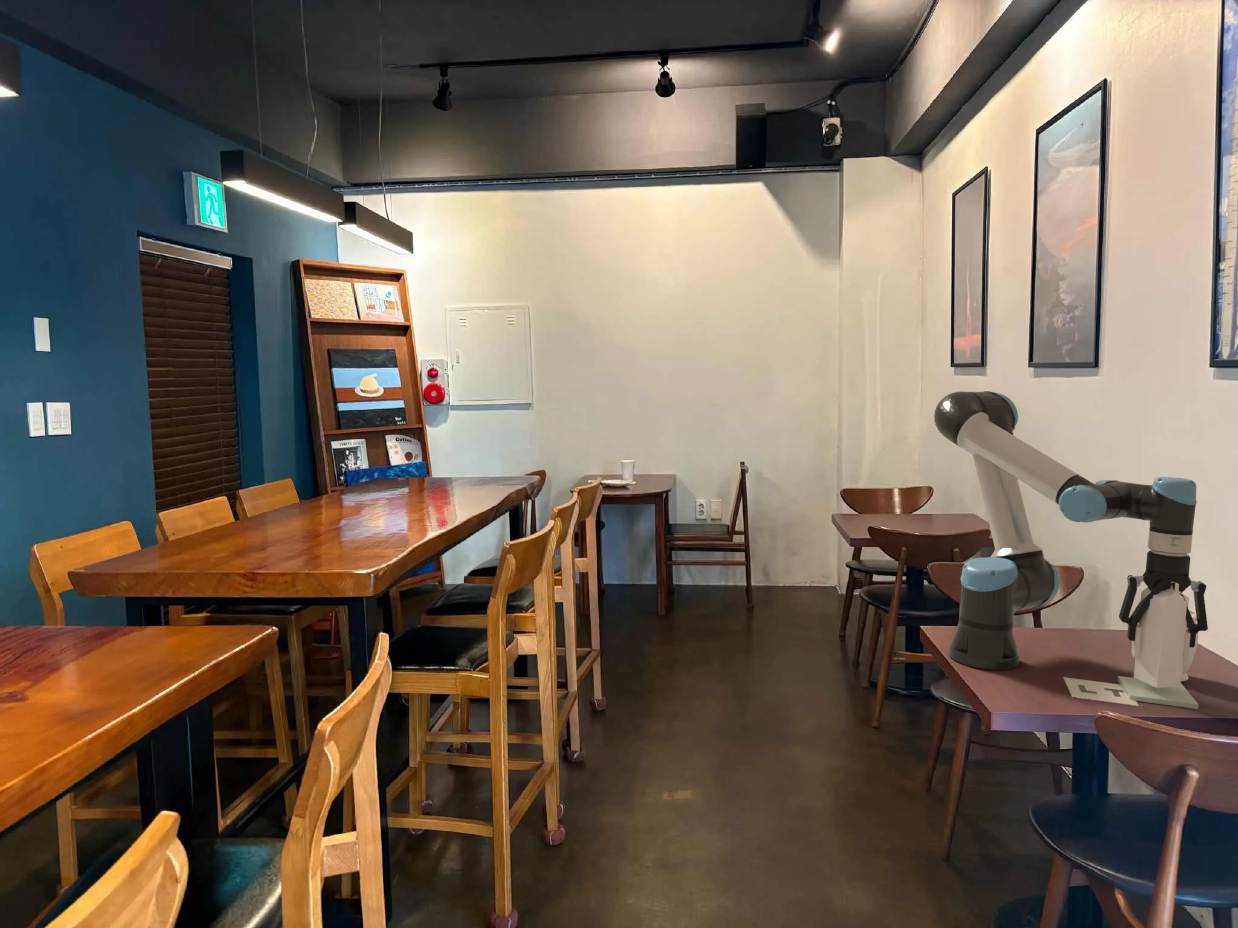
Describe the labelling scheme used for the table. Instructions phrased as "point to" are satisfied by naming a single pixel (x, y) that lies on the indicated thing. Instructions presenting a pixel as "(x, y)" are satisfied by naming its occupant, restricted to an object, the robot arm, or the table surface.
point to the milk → (1162, 639)
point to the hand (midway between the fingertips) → (1158, 658)
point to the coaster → (1157, 693)
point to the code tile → (1098, 691)
